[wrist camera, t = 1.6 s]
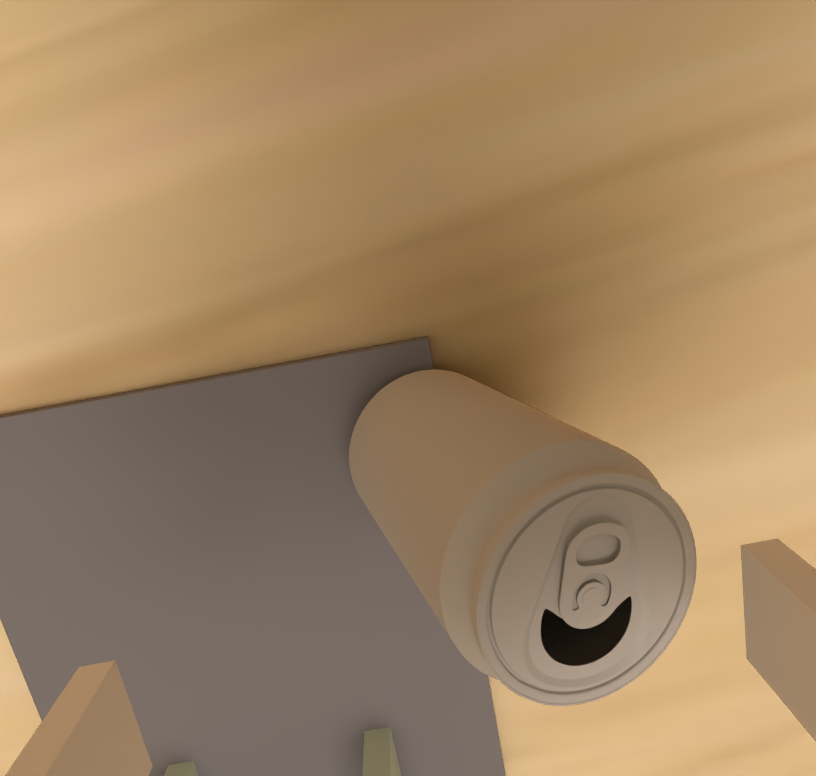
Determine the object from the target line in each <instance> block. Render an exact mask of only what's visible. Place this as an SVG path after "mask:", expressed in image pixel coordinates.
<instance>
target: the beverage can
mask: <svg viewBox="0 0 816 776" xmlns="http://www.w3.org/2000/svg"><path fill="white" fill-rule="evenodd" d="M349 466H350V472H351V476H352V480H353V483H354V486H355V488H356V490H357V492H358V494H359V496H360V498H361V499H362V501H363V502H364V504H365V505H366V507H367V509H368V510H369V512H370V513H371V515H372V516H373V518H374V519H375V521H376V523H377V524H378V526H379V527H380V529H381V530H382V532H383V534H384V535H385V537H386V538H387V540H388V541H389V543H390V545H391V546H392V548H393V549H394V551H395V552H396V554H397V555H398V557H399V559H400V560H401V562H402V563H403V565H404V566H405V568H406V570H407V571H408V573H409V574H410V576H411V577H412V579H413V581H414V582H415V584H416V585H417V587H418V588H419V590H420V591H421V593H422V595H423V596H424V598H425V599H426V601H427V602H428V604H429V606H430V607H431V609H432V610H433V612H434V613H435V615H436V617H437V618H438V620H439V621H440V623H441V624H442V626H443V627H444V629H445V631H446V632H447V634H448V635H449V637H450V638H451V640H452V642H453V643H454V645H455V646H456V647H457V649H458V650H459V651H460V653H461V654H462V655H463V656H464V658H465V659H466V660H467V661H468V662H469V663H471V664H472V665H473V666H474V667H475V668H477V669H478V670H479V671H481V672H482V673H484V674H486V675H488V676H490V677H493V678H495V679H498V680H500V681H501V682H502V683H503V684H504V685H505V686H506V687H507V688H509V689H510V690H511V691H512V692H514V693H516V694H517V695H519V696H522V697H524V698H526V699H529V700H532V701H534V702H537V703H540V704H544V705H553V706H571V705H578V704H584V703H587V702H591V701H594V700H598V699H600V698H603V697H605V696H608V695H610V694H612V693H614V692H616V691H618V690H620V689H621V688H623V687H625V686H626V685H628V684H629V683H631V682H632V681H633V680H635V679H636V678H637V677H639V676H640V675H641V674H642V673H643V672H645V671H646V670H647V669H648V668H649V667H650V666H651V665H652V664H653V663H654V662H655V661H656V660H657V659H658V658H659V656H660V655H661V654H662V653H663V652H664V650H665V649H666V648H667V646H668V645H669V643H670V642H671V641H672V639H673V637H674V636H675V634H676V633H677V631H678V629H679V627H680V625H681V623H682V621H683V619H684V617H685V615H686V612H687V610H688V607H689V604H690V601H691V598H692V594H693V589H694V584H695V579H696V549H695V542H694V538H693V534H692V531H691V528H690V525H689V522H688V520H687V518H686V516H685V514H684V513H683V511H682V509H681V508H680V507H679V505H678V504H677V503H676V501H675V500H674V499H673V498H672V497H671V496H670V495H669V494H668V493H667V492H665V491H664V490H663V489H662V488H661V486H660V484H659V483H658V481H657V479H656V478H655V477H654V475H653V474H652V473H651V472H650V471H649V470H648V468H647V467H646V466H645V465H644V464H642V463H641V462H640V461H639V460H638V459H636V458H635V457H634V456H632V455H631V454H629V453H627V452H625V451H623V450H622V449H620V448H617V447H615V446H613V445H611V444H609V443H607V442H605V441H603V440H600V439H598V438H596V437H594V436H592V435H590V434H588V433H586V432H583V431H581V430H579V429H577V428H575V427H573V426H571V425H569V424H566V423H564V422H562V421H560V420H558V419H556V418H554V417H552V416H549V415H547V414H545V413H543V412H541V411H539V410H537V409H534V408H532V407H530V406H528V405H526V404H524V403H522V402H520V401H517V400H515V399H513V398H511V397H509V396H507V395H505V394H503V393H500V392H498V391H496V390H494V389H492V388H490V387H488V386H486V385H483V384H481V383H479V382H477V381H475V380H473V379H471V378H469V377H466V376H464V375H462V374H459V373H456V372H452V371H448V370H437V369H431V370H422V371H417V372H413V373H410V374H407V375H404V376H402V377H400V378H398V379H396V380H394V381H393V382H391V383H389V384H388V385H386V386H385V387H384V388H383V389H381V390H380V391H379V392H378V393H377V394H376V395H375V396H374V397H373V398H372V399H371V400H370V401H369V403H368V404H367V405H366V407H365V408H364V410H363V411H362V413H361V414H360V416H359V418H358V420H357V422H356V425H355V427H354V430H353V433H352V437H351V441H350V448H349Z"/></svg>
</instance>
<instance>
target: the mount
mask: <svg viewBox="0 0 816 776" xmlns="http://www.w3.org/2000/svg"><path fill="white" fill-rule="evenodd" d="M431 369H433V363H432V357H431V352H430V346H429V341H428V337H427V336H426V337H420V338H415V339H410V340H404V341H399V342H393V343H388V344H383V345H377V346H372V347H366V348H361V349H356V350H350V351H345V352H339V353H334V354H329V355H323V356H318V357H312V358H307V359H302V360H296V361H291V362H285V363H280V364H275V365H269V366H264V367H258V368H253V369H248V370H242V371H237V372H231V373H226V374H221V375H215V376H210V377H204V378H199V379H194V380H188V381H183V382H177V383H172V384H167V385H161V386H156V387H150V388H145V389H140V390H134V391H129V392H123V393H118V394H113V395H107V396H102V397H96V398H91V399H86V400H80V401H75V402H69V403H64V404H59V405H53V406H48V407H42V408H37V409H32V410H26V411H21V412H15V413H10V414H5V415H0V619H1V621H2V624H3V626H4V629H5V631H6V634H7V636H8V639H9V641H10V644H11V646H12V649H13V651H14V654H15V656H16V658H17V661H18V663H19V666H20V668H21V671H22V673H23V676H24V678H25V681H26V683H27V686H28V688H29V690H30V693H31V695H32V698H33V700H34V703H35V705H36V708H37V710H38V713H39V715H40V718H41V720H42V721H43V719H44V718H45V716H46V715H47V713H48V712H49V710H50V709H51V707H52V706H53V705H54V703H55V702H56V700H57V699H58V697H59V696H60V694H61V693H62V691H63V690H64V688H65V687H66V685H67V684H68V682H69V681H70V680H71V678H72V677H73V675H74V674H75V672H76V671H77V669H78V668H79V667H81V666H87V665H92V664H98V663H103V662H109V661H114V660H115V661H116V664H117V667H118V670H119V672H120V675H121V678H122V681H123V684H124V687H125V689H126V692H127V695H128V698H129V701H130V703H131V706H132V709H133V712H134V715H135V718H136V720H137V723H138V726H139V729H140V732H141V735H142V737H143V740H144V743H145V746H146V749H147V752H148V754H149V757H150V760H151V763H152V766H153V767H152V769H151V772H150V774H149V776H505V770H504V764H503V759H502V753H501V747H500V742H499V736H498V730H497V725H496V719H495V713H494V708H493V702H492V697H491V691H490V685H489V680H488V675H486V674H484V673H482V672H481V671H479V670H478V669H477V668H475V667H474V666H473V665H472V664H471V663H469V662H468V661H467V660H466V659H465V658H464V656H463V655H462V654H461V653H460V651H459V650H458V649H457V647H456V646H455V645H454V643H453V642H452V640H451V638H450V637H449V635H448V634H447V632H446V631H445V629H444V627H443V626H442V624H441V623H440V621H439V620H438V618H437V617H436V615H435V613H434V612H433V610H432V609H431V607H430V606H429V604H428V602H427V601H426V599H425V598H424V596H423V595H422V593H421V591H420V590H419V588H418V587H417V585H416V584H415V582H414V581H413V579H412V577H411V576H410V574H409V573H408V571H407V570H406V568H405V566H404V565H403V563H402V562H401V560H400V559H399V557H398V555H397V554H396V552H395V551H394V549H393V548H392V546H391V545H390V543H389V541H388V540H387V538H386V537H385V535H384V534H383V532H382V530H381V529H380V527H379V526H378V524H377V523H376V521H375V519H374V518H373V516H372V515H371V513H370V512H369V510H368V509H367V507H366V505H365V504H364V502H363V501H362V499H361V498H360V496H359V494H358V492H357V490H356V488H355V486H354V483H353V480H352V476H351V472H350V466H349V448H350V441H351V437H352V433H353V430H354V427H355V425H356V422H357V420H358V418H359V416H360V414H361V413H362V411H363V410H364V408H365V407H366V405H367V404H368V403H369V401H370V400H371V399H372V398H373V397H374V396H375V395H376V394H377V393H378V392H379V391H380V390H381V389H383V388H384V387H385V386H386V385H388V384H389V383H391V382H393V381H394V380H396V379H398V378H400V377H402V376H404V375H407V374H410V373H413V372H417V371H422V370H431Z"/></svg>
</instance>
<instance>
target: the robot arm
mask: <svg viewBox="0 0 816 776" xmlns="http://www.w3.org/2000/svg"><path fill="white" fill-rule="evenodd" d="M741 560H742V579H743V598H744V617H745V636H746V655H747V659H748V661H749V662H750V663H751V664H752V665H753V667H754V668H755V669H756V670H757V671H758V673H759V674H760V675H761V676H762V677H763V679H764V680H765V681H766V682H767V683H768V685H769V686H770V687H771V688H772V689H773V691H774V692H775V693H776V694H777V695H778V697H779V698H780V699H781V700H782V701H783V703H784V704H785V705H786V706H787V707H788V709H789V710H790V711H791V712H792V713H793V715H794V716H795V717H796V718H797V719H798V721H799V722H800V723H801V724H802V725H803V727H804V728H805V729H806V730H807V731H808V733H809V734H810V735H811V736H812V738H813V739H814V740H815V741H816V569H815V568H813V567H812V566H811V565H810V564H809V563H807V562H806V561H805V560H804V559H802V558H801V557H800V556H799V555H797V554H796V553H795V552H794V551H792V550H791V549H790V548H789V547H787V546H786V545H785V544H784V543H782V542H781V541H780V540H779V539H773V540H767V541H762V542H756V543H751V544H745V545H741ZM152 767H153V766H152V763H151V760H150V757H149V754H148V752H147V749H146V746H145V743H144V740H143V737H142V735H141V732H140V729H139V726H138V723H137V720H136V718H135V715H134V712H133V709H132V706H131V703H130V701H129V698H128V695H127V692H126V689H125V687H124V684H123V681H122V678H121V675H120V672H119V670H118V667H117V664H116V661H115V660H114V661H109V662H103V663H98V664H92V665H87V666H81V667H79V668H78V669H77V671H76V672H75V674H74V675H73V677H72V678H71V680H70V681H69V682H68V684H67V685H66V687H65V688H64V690H63V691H62V693H61V694H60V696H59V697H58V699H57V700H56V702H55V703H54V705H53V706H52V707H51V709H50V710H49V712H48V713H47V715H46V716H45V718H44V719H43V721H42V722H41V724H40V725H39V727H38V728H37V730H36V731H35V732H34V734H33V735H32V737H31V738H30V740H29V741H28V743H27V744H26V746H25V747H24V749H23V750H22V752H21V753H20V755H19V756H18V757H17V759H16V760H15V762H14V763H13V765H12V766H11V768H10V769H9V771H8V772H7V774H6V775H5V776H149V774H150V772H151V769H152Z"/></svg>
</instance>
